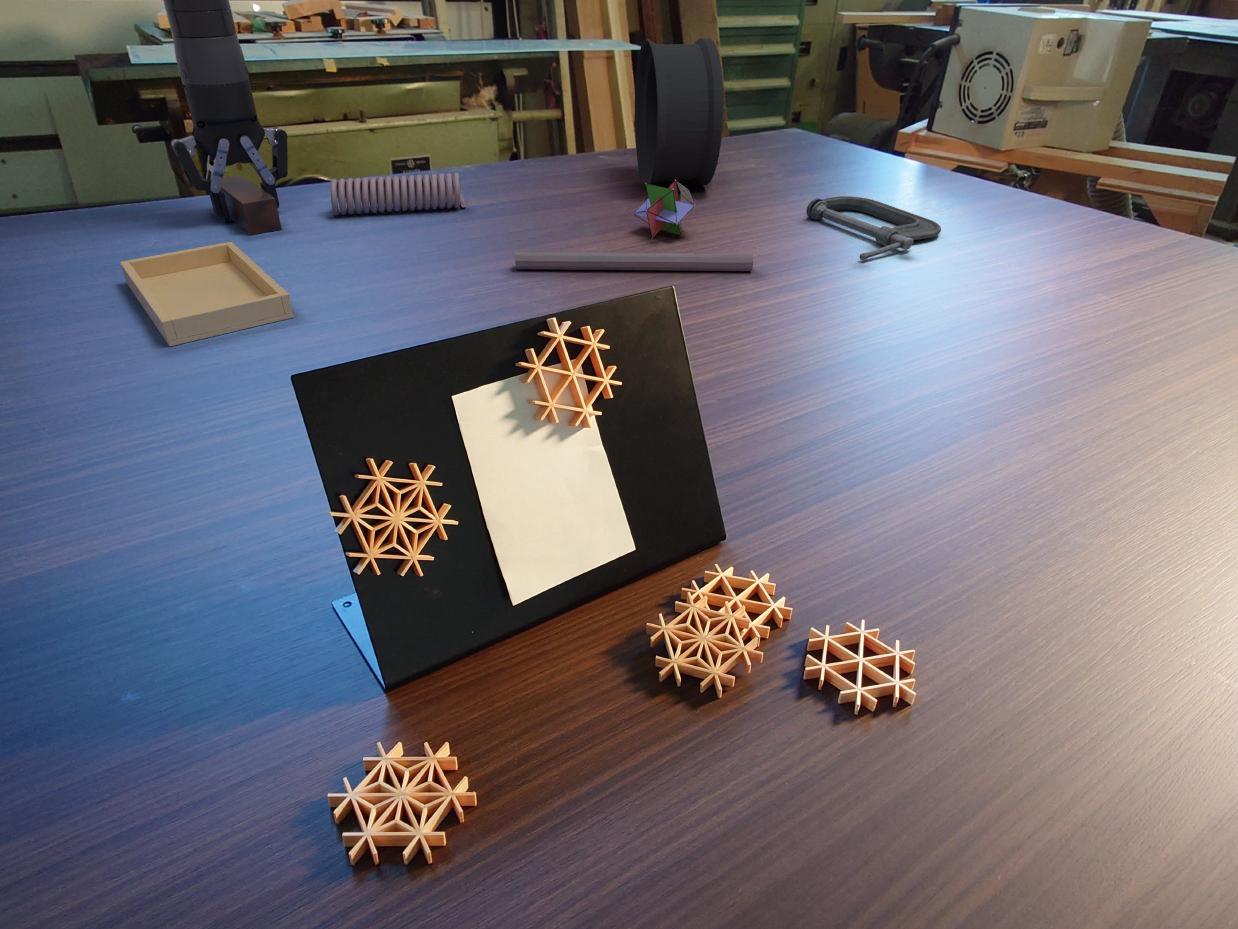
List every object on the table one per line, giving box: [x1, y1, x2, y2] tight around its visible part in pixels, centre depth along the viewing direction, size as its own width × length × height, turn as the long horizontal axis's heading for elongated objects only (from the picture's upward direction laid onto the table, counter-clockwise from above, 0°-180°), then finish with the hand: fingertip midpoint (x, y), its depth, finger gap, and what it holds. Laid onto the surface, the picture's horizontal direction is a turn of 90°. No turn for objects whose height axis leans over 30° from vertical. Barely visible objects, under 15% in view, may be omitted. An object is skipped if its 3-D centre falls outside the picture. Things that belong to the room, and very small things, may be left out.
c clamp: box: [805, 195, 942, 261], centre depth 106 cm, size 20×17×3 cm
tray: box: [119, 241, 295, 347], centre depth 84 cm, size 12×20×2 cm, turn 37°
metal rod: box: [514, 251, 754, 272], centre depth 93 cm, size 2×27×2 cm, turn 90°
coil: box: [329, 172, 468, 216], centre depth 110 cm, size 5×5×18 cm
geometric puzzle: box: [632, 180, 696, 240], centre depth 102 cm, size 7×7×8 cm
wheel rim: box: [634, 37, 724, 187], centre depth 119 cm, size 20×9×20 cm, turn 8°
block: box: [221, 174, 283, 236], centre depth 107 cm, size 4×14×4 cm, turn 37°
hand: (248, 215), depth 108 cm, fingers open, 5 cm apart
